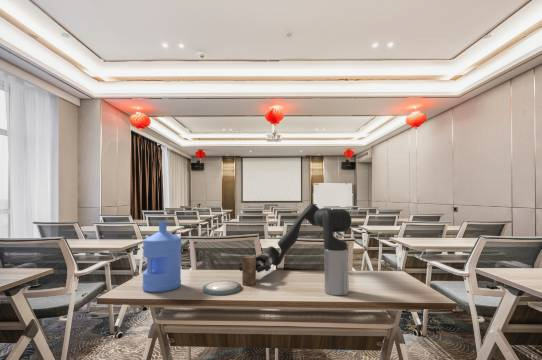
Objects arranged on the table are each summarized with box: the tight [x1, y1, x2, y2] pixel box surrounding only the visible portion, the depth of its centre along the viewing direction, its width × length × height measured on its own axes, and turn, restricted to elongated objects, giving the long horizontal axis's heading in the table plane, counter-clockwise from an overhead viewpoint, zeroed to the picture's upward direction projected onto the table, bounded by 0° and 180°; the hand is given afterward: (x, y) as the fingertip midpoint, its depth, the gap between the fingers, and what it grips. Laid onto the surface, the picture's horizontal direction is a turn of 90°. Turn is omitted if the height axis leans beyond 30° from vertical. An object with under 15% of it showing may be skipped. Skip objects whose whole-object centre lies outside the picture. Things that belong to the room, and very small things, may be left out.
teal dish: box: [202, 280, 242, 296], centre depth 126 cm, size 16×16×1 cm
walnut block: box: [241, 255, 257, 287], centre depth 133 cm, size 4×4×12 cm
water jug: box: [141, 221, 182, 293], centre depth 129 cm, size 16×16×28 cm
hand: (249, 269), depth 132 cm, fingers open, 8 cm apart
